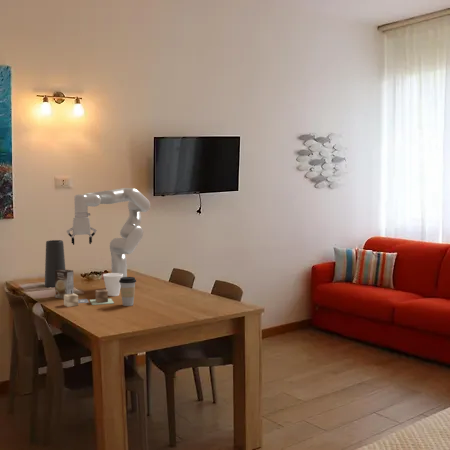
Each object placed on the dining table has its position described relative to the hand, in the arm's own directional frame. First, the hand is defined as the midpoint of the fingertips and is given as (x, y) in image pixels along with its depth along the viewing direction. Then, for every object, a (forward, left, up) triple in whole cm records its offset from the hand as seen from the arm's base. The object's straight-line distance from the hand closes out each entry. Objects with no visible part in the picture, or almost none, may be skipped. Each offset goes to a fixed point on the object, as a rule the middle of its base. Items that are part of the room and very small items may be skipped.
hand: (81, 244), depth 361 cm
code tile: (+4, +20, -30) cm, 37 cm away
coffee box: (+11, +6, -31) cm, 33 cm away
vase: (+14, -34, -31) cm, 48 cm away
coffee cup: (-21, +37, -31) cm, 52 cm away
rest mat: (-8, +26, -30) cm, 41 cm away
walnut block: (-8, +26, -30) cm, 40 cm away
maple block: (+9, +29, -30) cm, 43 cm away
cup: (-17, +8, -31) cm, 36 cm away
